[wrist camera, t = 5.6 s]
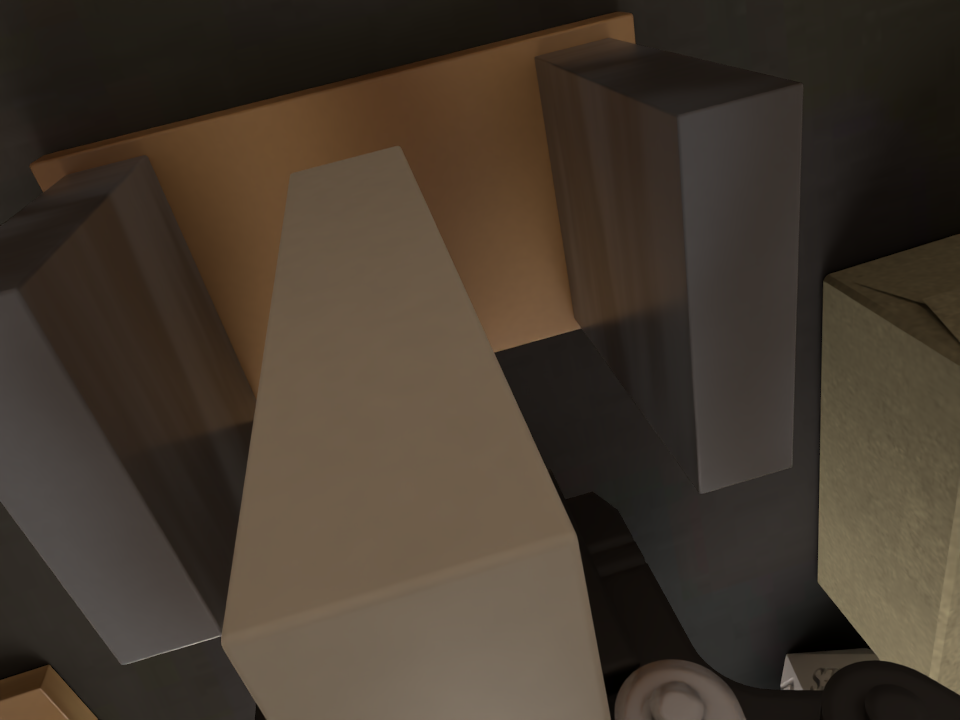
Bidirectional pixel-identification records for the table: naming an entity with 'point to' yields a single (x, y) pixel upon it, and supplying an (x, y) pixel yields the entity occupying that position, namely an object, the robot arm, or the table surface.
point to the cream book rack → (40, 698)
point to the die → (819, 667)
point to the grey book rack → (471, 245)
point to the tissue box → (894, 455)
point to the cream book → (396, 487)
